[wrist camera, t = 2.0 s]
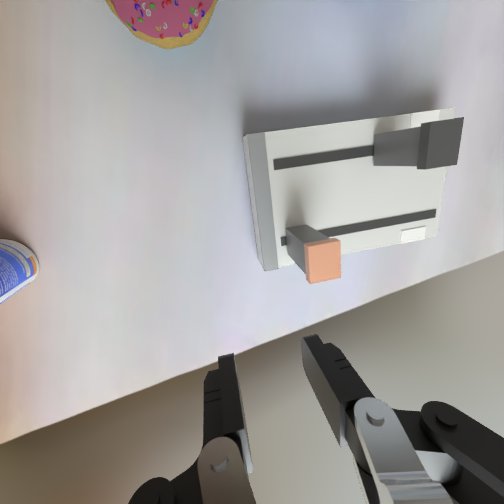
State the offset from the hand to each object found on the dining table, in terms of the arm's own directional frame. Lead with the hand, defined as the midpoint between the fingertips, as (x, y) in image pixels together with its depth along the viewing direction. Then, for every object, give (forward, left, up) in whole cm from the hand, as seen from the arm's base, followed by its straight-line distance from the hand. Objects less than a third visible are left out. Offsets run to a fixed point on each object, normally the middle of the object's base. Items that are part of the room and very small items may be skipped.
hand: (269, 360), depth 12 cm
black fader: (-8, +17, -16) cm, 25 cm away
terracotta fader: (0, +7, -16) cm, 17 cm away
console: (-4, +14, -19) cm, 24 cm away
